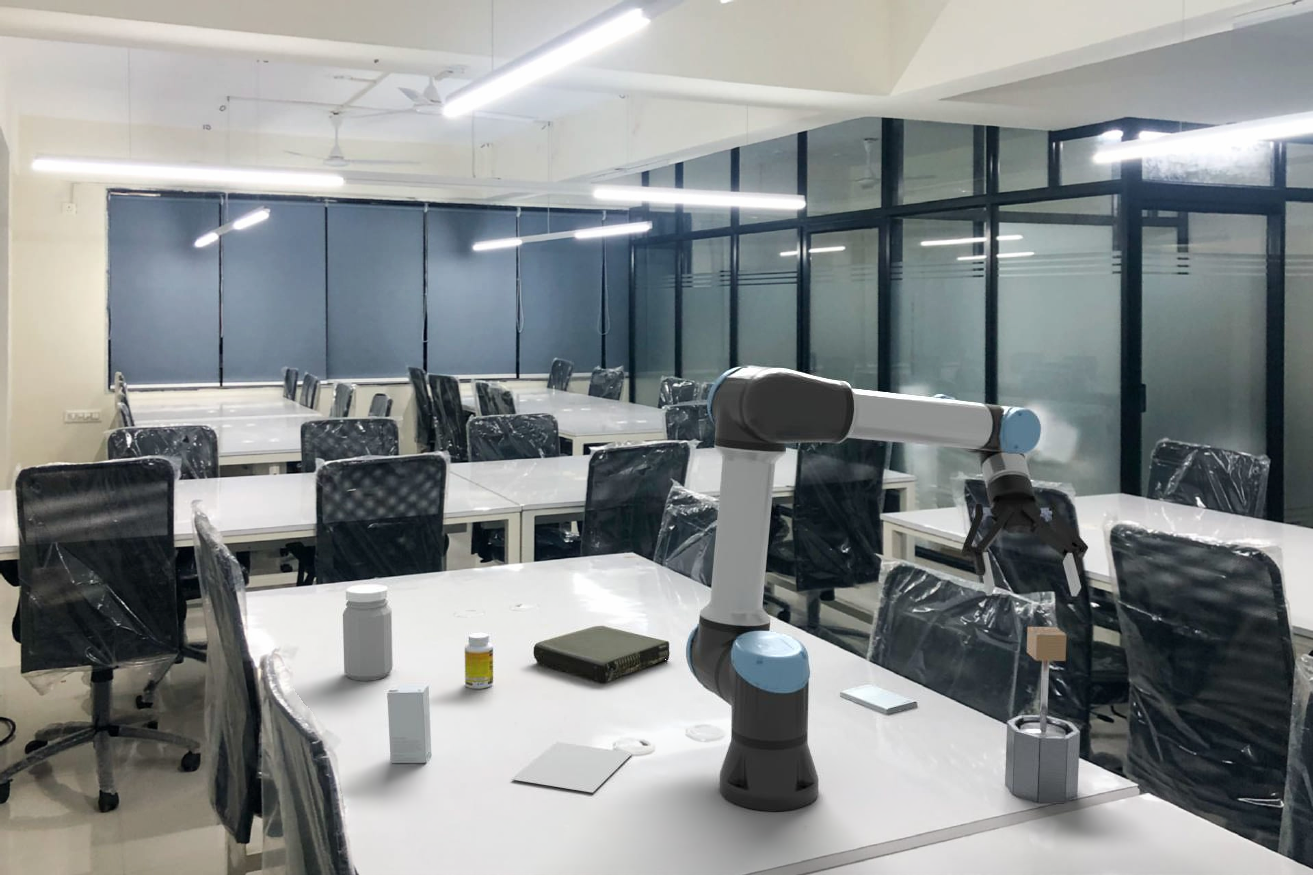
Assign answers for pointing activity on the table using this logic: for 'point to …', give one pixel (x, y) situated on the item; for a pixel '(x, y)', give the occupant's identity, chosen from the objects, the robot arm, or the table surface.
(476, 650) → the supplement bottle
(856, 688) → the hard drive
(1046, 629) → the plunger
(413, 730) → the skincare box
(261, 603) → the table surface
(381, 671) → the jar
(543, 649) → the network switch
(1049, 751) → the octagonal metal cup
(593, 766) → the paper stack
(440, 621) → the table surface
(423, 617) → the table surface
